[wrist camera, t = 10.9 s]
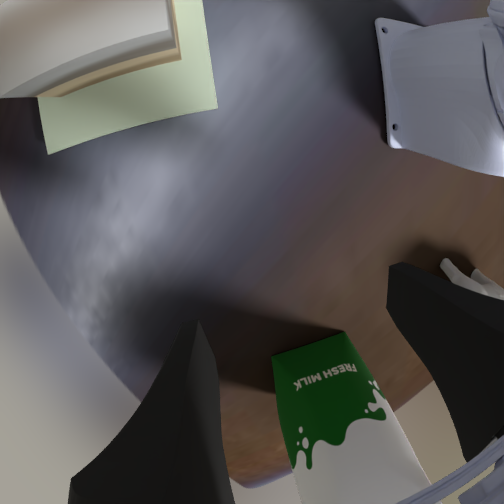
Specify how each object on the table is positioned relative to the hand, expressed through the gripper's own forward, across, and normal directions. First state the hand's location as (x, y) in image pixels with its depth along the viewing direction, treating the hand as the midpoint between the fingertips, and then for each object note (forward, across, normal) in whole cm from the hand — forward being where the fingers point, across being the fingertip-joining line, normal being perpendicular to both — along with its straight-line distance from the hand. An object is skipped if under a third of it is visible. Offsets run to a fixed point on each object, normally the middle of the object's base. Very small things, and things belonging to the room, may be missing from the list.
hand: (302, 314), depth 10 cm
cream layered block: (+8, +5, -13) cm, 16 cm away
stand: (+10, +5, -14) cm, 18 cm away
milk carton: (+10, -2, +16) cm, 19 cm away
